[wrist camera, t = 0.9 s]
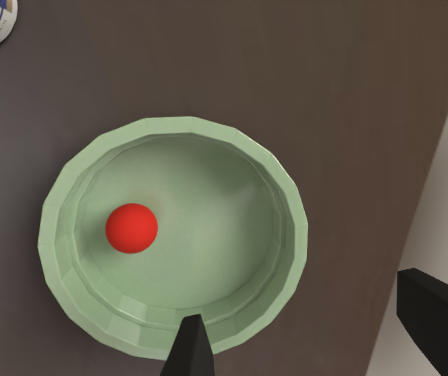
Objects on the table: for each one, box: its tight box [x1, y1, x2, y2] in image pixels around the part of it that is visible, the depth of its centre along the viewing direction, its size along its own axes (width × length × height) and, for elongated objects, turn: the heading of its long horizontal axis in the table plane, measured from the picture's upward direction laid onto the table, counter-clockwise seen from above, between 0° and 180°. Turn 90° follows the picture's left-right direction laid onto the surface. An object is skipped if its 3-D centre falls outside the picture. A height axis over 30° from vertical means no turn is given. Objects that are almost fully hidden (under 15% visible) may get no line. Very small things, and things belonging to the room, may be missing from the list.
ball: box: [105, 203, 158, 254], centre depth 17 cm, size 3×3×3 cm
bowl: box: [37, 115, 308, 360], centre depth 18 cm, size 15×15×4 cm
